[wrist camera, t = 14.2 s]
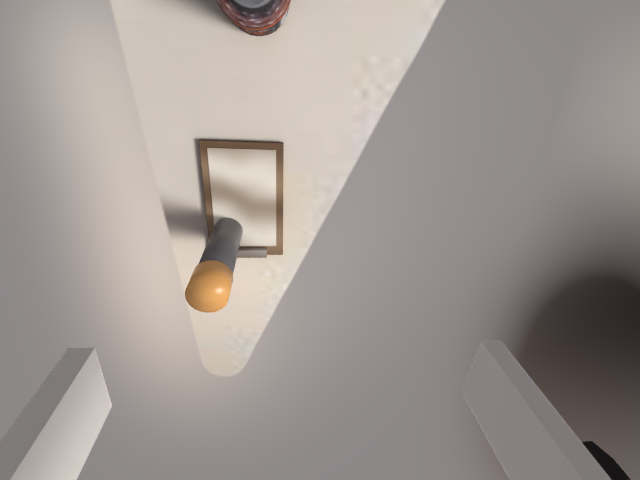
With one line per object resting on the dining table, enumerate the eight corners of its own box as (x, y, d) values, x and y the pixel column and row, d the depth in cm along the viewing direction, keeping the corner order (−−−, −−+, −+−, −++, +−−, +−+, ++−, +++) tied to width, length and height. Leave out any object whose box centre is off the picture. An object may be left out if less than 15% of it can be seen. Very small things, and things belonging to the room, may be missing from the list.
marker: (211, 216, 40) (182, 278, 29) (243, 216, 41) (226, 278, 29) (214, 244, 42) (188, 312, 31) (244, 244, 42) (229, 311, 31)
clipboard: (200, 139, 37) (197, 142, 36) (283, 142, 38) (283, 145, 37) (211, 252, 43) (209, 258, 42) (282, 252, 44) (282, 258, 43)
